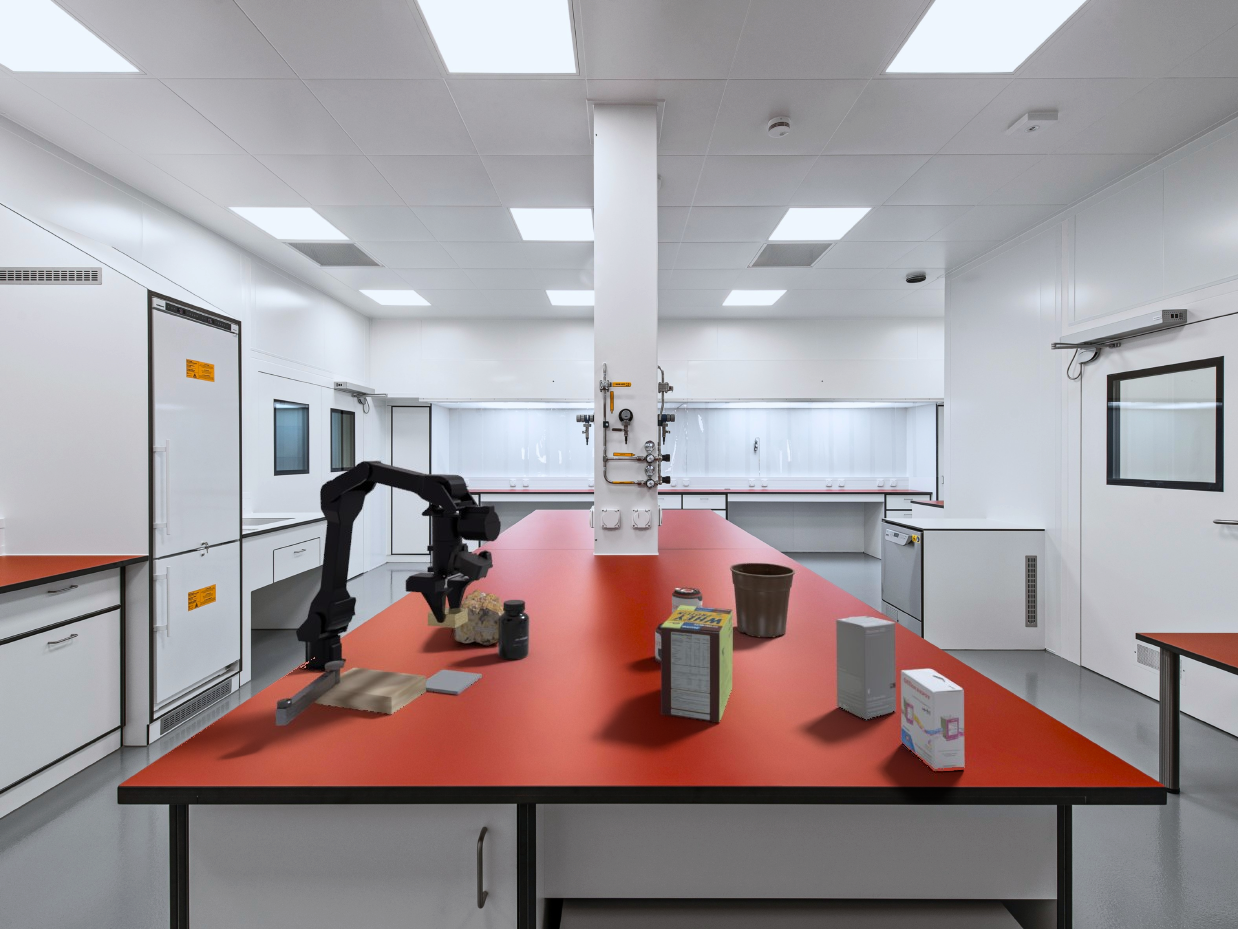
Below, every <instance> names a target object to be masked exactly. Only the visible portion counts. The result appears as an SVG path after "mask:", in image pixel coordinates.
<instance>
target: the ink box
mask: <svg viewBox="0 0 1238 929" xmlns="http://www.w3.org/2000/svg"><path fill="white" fill-rule="evenodd" d="M900 705H901V706H900V710H901V712H900V716H901V717H900V718H901V720H900V724H901V726H900V727H901V730H900V731H901V732H900V734H901V737H900V738H901V741H902V742H903V743H904V744H905V745H906V746H907V747H909V748H910V749H911V750H913V751H914V752H915V753H916V754H918V756H920V757H921V758H922V759H924V760H925V761H926V762H927V763H928V764H929V765H931V766H932V767H933V768H934V769H938V768H940V769H941V768H943V769H944V768H952V767H964V768H965V692H964V689H963V687H962V686H959V685H958V684H956V683H955V682H953V681H951V680H950V679H949V678H947V677H946V676H944V675H943V674H940V673H938V671H936V670H934V669H932V668H914V669H902V670H900Z"/></svg>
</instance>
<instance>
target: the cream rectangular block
mask: <svg viewBox="0 0 1238 929" xmlns="http://www.w3.org/2000/svg"><path fill="white" fill-rule="evenodd" d="M344 667H345V662H343V661H332V662H329V663H326V664H325V670H326V671H335V685H334V686H333V687H332V688H331V689H329V690H328V691H327V692H326V693H325V694H323V695H322V696H321V697H320V698H318V699H317V700H316V701H315V702H314V704H315V703H317V704H316V705H321V704H323V705H322V706H328V705H331V706H330V707H335V706H340V707H339V708H342V707H344V708H343V709H349V708H351V710H356V709H358V710H357V711H363V710H368V711H367V712H370V711H374V712H373V713H377V712H382V713H381V714H384V713H387V715H391V714H392V715H393V714H395V713H396V712H398V711H399V710H401V709H403V708H404V707H405V706H407V705H409V704H410V703H411V702H413V701H414V700H416V699H417V698H419V697H420V696H422V695H424V694H425V693H427V691H426V680H427V676H426V675H419V674H412V673H402V672H394V671H386V670H378V669H370V668H362V667H353V668H351V669H349V670H346V671H344V672H343V673H341V669H343V668H344ZM421 694H422V695H421ZM403 706H404V707H403ZM400 708H401V709H400ZM397 710H398V711H397ZM394 712H395V713H394Z"/></svg>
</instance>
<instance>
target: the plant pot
mask: <svg viewBox="0 0 1238 929" xmlns="http://www.w3.org/2000/svg"><path fill="white" fill-rule="evenodd" d="M729 569H730V572H731V579H732V585H733V587H734V588H733V589H734V599H735V603H734V604H735V613H736V629H737V631H738V632H740V633H741V632H742V633H741V634H744V633H745V634H747V635H748V636H749V635H753V636H752V637H755V636H760V637H773V636H777V637H778V636H781V635H782V634H784V633H785V634H786V632H787V622H788V612H789V600H790V593H791V588H792V586H793V580H794V579H793V578H794V575H795V574H796V570H795V569H794V568H792V567H790V566H786V565H780V564H775V563H768V562H767V563H765V562H742V563H736V564H732V565H730V567H729ZM785 634H784V635H785ZM782 636H783V635H782ZM760 637H759V638H760ZM773 638H774V637H773Z"/></svg>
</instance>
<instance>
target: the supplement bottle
mask: <svg viewBox="0 0 1238 929" xmlns="http://www.w3.org/2000/svg"><path fill="white" fill-rule="evenodd" d="M502 605H503V611H504V613H503V614H501V615H500V617H499V627H498V641H497V642H498V643H497V655H498V656H499V658H500V659H503V660H508V661H514V660H515V661H516V660H521V659H525V658H526V657H528V655H529V652H530V616H529V614H528V613H527V612H525V611H526V601H525V600H523V599H508V600H505V601H503V602H502Z"/></svg>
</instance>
